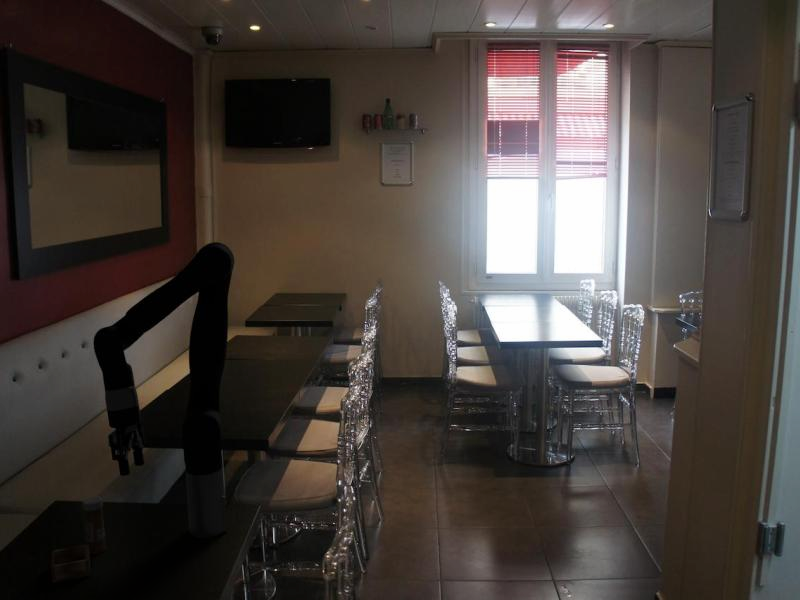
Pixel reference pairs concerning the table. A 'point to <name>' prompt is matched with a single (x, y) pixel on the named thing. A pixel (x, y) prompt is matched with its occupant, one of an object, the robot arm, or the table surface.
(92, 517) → the sprinkles bottle
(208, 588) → the table surface
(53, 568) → the oak socket block
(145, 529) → the table surface
